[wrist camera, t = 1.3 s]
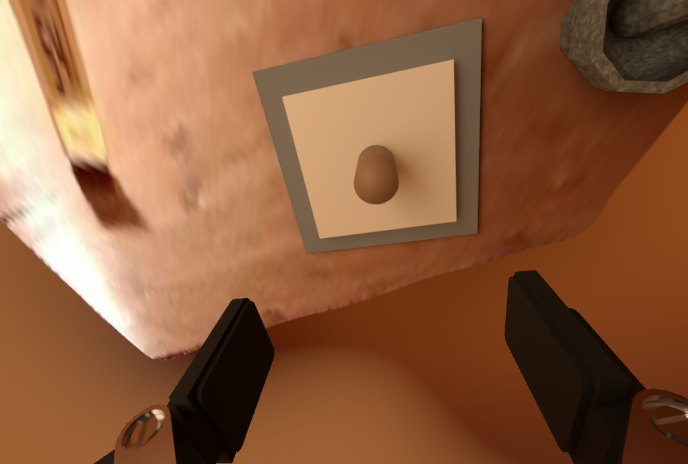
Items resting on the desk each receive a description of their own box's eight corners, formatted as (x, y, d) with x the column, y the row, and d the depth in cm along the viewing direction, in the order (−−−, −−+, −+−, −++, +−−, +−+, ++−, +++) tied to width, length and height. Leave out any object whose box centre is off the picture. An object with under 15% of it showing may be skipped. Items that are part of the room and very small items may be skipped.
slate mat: (254, 72, 27) (252, 72, 27) (479, 18, 24) (481, 17, 23) (307, 251, 36) (306, 253, 36) (475, 231, 33) (477, 233, 32)
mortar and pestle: (553, 112, 26) (672, 136, 16) (519, 7, 23) (640, -50, 13) (706, 27, 23) (993, -14, 12) (690, -112, 19) (1065, -334, 9)
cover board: (285, 96, 27) (258, 102, 21) (450, 60, 25) (476, 54, 18) (321, 233, 34) (309, 269, 28) (453, 216, 32) (473, 251, 25)
